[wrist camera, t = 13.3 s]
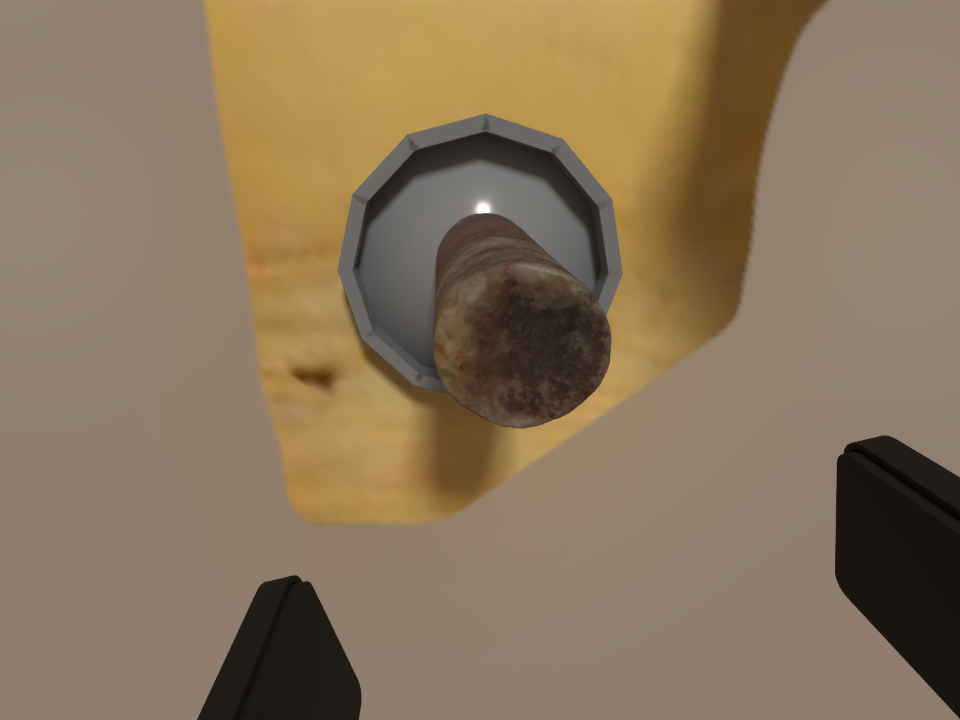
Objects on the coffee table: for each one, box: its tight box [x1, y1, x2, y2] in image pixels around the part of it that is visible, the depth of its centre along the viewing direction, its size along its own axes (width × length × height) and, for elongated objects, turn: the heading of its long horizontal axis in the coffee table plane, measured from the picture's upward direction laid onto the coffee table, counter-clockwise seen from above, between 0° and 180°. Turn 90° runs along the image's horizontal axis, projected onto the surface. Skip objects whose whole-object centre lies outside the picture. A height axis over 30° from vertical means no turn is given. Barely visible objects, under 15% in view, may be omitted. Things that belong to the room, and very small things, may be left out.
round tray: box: [338, 114, 623, 394], centre depth 38 cm, size 20×20×3 cm
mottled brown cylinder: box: [433, 213, 611, 429], centre depth 29 cm, size 8×7×20 cm
